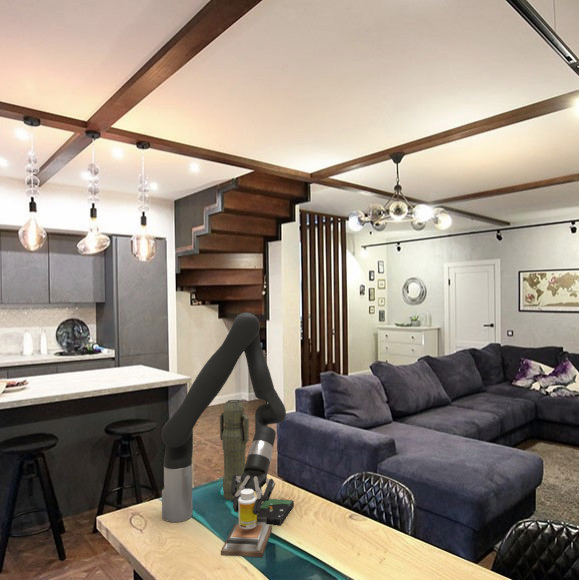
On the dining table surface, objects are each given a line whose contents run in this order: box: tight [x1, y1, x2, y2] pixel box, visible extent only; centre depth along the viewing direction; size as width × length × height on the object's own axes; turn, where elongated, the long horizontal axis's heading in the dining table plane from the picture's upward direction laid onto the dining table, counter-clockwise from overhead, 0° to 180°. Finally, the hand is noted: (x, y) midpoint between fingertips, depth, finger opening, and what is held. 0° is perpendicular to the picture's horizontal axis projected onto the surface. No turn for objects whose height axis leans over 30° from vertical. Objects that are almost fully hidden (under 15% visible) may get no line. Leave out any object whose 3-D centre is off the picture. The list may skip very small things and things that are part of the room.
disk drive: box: [257, 498, 295, 527], centre depth 156 cm, size 10×3×15 cm
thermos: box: [219, 399, 250, 502], centre depth 172 cm, size 9×12×35 cm
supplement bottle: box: [237, 489, 257, 529], centre depth 139 cm, size 6×6×10 cm
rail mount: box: [220, 517, 273, 558], centre depth 138 cm, size 12×16×4 cm
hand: (245, 512), depth 137 cm, fingers closed on supplement bottle, 5 cm apart
